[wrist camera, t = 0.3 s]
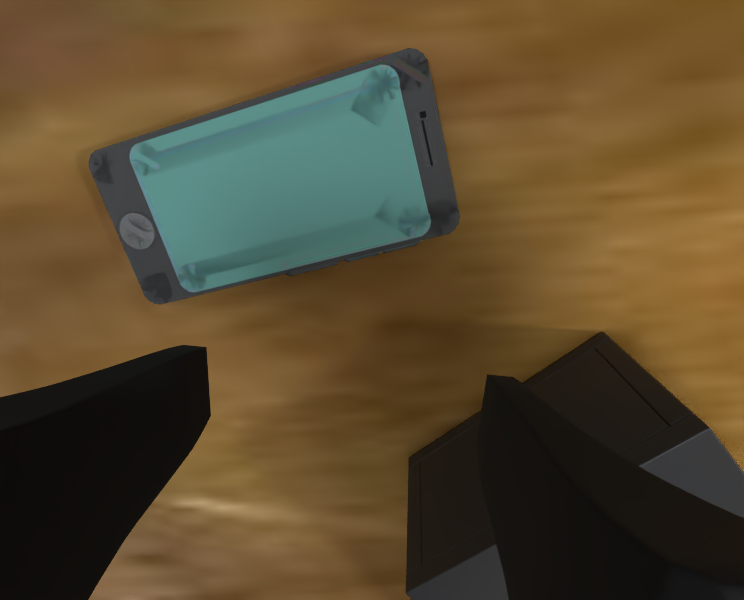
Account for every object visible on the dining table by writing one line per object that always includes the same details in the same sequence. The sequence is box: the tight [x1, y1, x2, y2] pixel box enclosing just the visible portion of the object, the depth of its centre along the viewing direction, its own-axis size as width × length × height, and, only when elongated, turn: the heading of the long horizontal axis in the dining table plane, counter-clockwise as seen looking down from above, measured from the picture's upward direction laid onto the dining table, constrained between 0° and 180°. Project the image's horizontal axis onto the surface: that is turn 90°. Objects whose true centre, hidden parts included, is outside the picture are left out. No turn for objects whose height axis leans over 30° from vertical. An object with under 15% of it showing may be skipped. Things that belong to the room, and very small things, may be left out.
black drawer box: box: [406, 332, 744, 600], centre depth 19 cm, size 14×12×8 cm
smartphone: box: [89, 48, 460, 304], centre depth 19 cm, size 7×1×15 cm
